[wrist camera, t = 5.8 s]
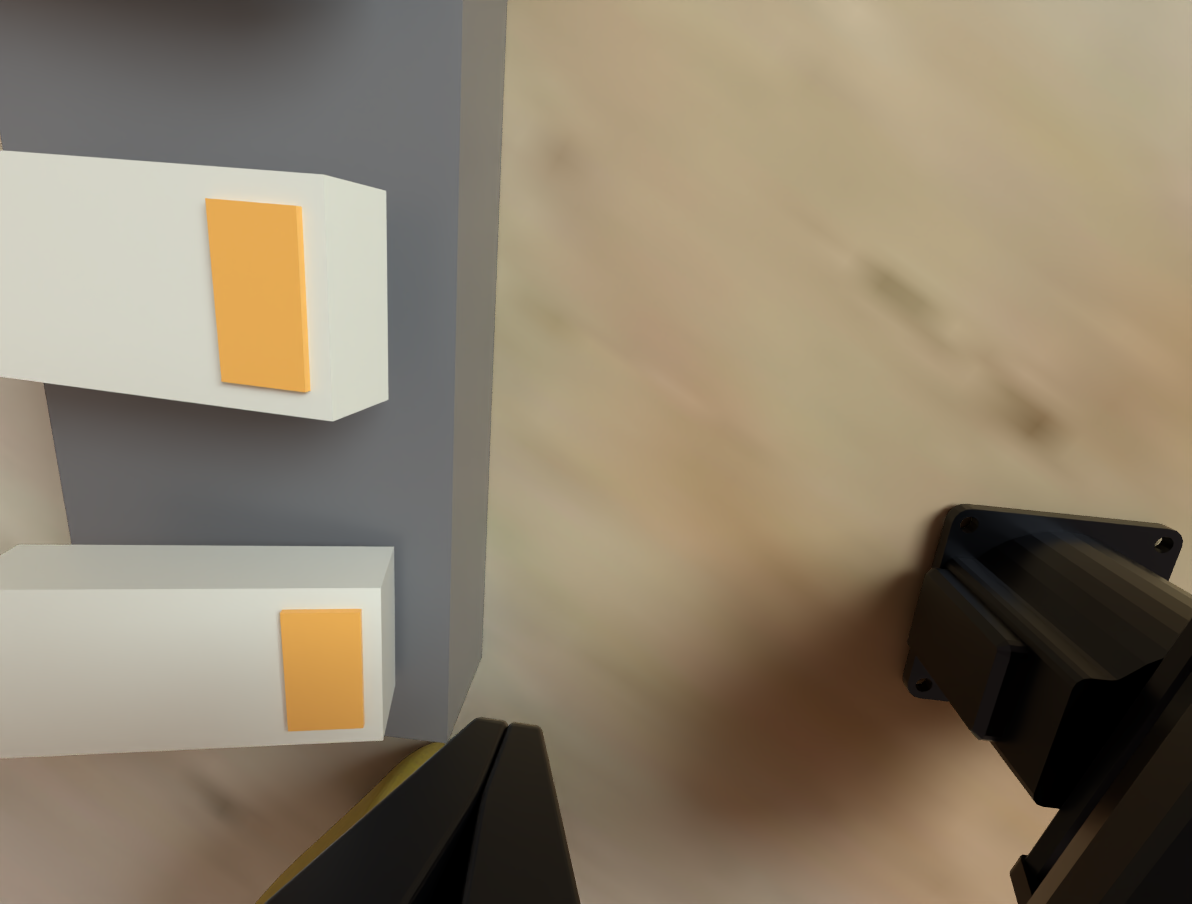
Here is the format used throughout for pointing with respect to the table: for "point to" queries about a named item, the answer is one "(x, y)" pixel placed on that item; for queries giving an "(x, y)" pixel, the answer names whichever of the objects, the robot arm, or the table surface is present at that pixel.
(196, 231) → the block
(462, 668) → the power strip
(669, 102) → the table surface
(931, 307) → the table surface
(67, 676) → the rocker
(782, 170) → the table surface
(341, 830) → the flower pot
